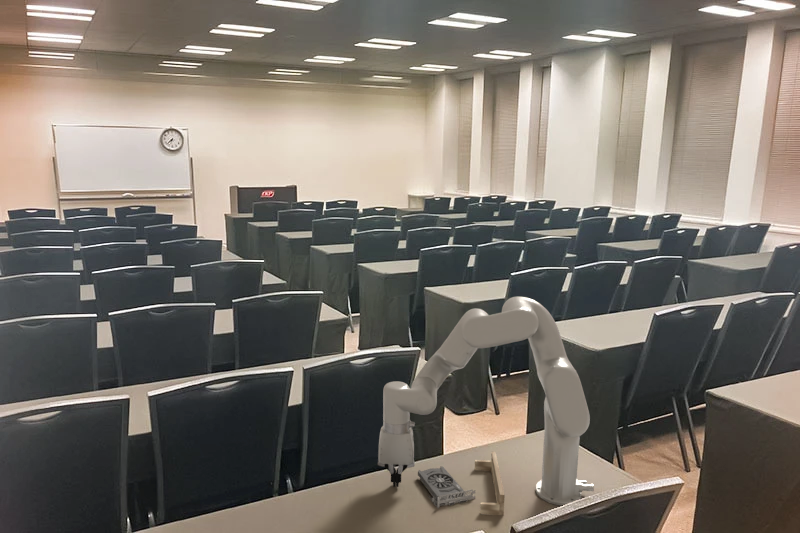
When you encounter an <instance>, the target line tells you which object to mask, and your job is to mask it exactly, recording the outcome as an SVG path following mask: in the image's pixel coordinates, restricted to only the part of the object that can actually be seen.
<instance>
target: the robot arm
mask: <svg viewBox="0 0 800 533" xmlns="http://www.w3.org/2000/svg"><path fill="white" fill-rule="evenodd" d="M555 321H556V320H555V318H553V316H552V314H551V313H550V312H549V310H548V309H547V308H546V307H544V305H542V304H541V303H540V302H538V301H536V300H535V299H532V298H529V297H527V296H512V297H509V298H508V299H507V300H506V301H505V302H504V303H503V306H502V307H501V312H496V313H493V314H489V313H487V312H486V311H485V310H483V309H482V308H471V309H469V310H467V311H466V312H465V313H464V314H463V315H462V316H461V318H460V319H459V320H458V322H457V324H456V325H455V326H454V328H453V329H452V330H451V332H450V333H449V335H448V336H447V338H446V339H445V340H444V341H443V343H442V344H441V345H440V347H439V348H438V349H437V350H436V351H435V352H434V354H433V355H432V356H431V357H429V359H428V360H427V361H426V362H425V364H424V365H423V367H421V369H420V371H419V372H418V374H417V375H416V376H415V378H414V380H413V382H412V383H411V387H410V386H409V385H408V384H407V383H405V382H403V381H396V380H395V381H390V382H387V383H386V384H385V385H384V387H383V392H382V393H383V394H382V398H383V399H382V403H383V405H382V406H383V408H382V410H383V411H382V412H383V414H382V417H383V418H382V419H383V420H382V422H383V424H382V426H381V428H380V432H379V437H378V438H379V439H378V452H377V453H378V454H377V457H378V459H377V466H379V467H383V468H385V469H387V471H388V472H389V475H390V483H392V487H393V488H394V487H397V488H399V485H400V483H402V473H403V472H404V471H405V470H406V469H408V468H409V469H410V468H414V467H415V460H414V458H415V443H414V440H415V439H414V431H413V428H414V427H415V424H416V423H415V421H411V419H410V417H411V416H410V415H411V414H410V413H413V414H417V415H421V416H422V415H424V416H426V415H429V414H432V413H433V412H434V411H435V410H436V407H437V403H438V398H437V397H438V395H437V394H438V390H439V388H440V387H441V386H442V384H443V383H444V382H445V380H446V379H447V378H448V376H449V375H450V374H451V373H453V372H454V371H457V370H461V369H464V368H465V367H466V365H467V364H468V363H469V361H470V360H471V359H472V357H473V355H475V353H476V352H477V351H478V349H487V348H492V347H493V348H494V347H498V346H503V345H507V344H511V343H516V342H520V341H524V340H527V339H528V342H529V345H530V349H531V351H532V355H533V360H534V362H535V367H536V373H537V378H538V379H539V381H540V384H541V386H542V389H543V390H544V393H545V397H544V401H543V404H544V405H543V410H544V411H543V414H544V416H543V417H544V433H543V434H544V436H543V451H542V452H543V453H542V467H541V469H542V471H541V479H540V480H538V481H537V483H536V484H535V493H536V494H537V496H538V497H539V498H541V499H542V500H543V501H545V502H547V503H549V504H552V505H556V506H562V505H564V504H567V503H569V502H573V501H575V500H578V499H580V500H581V499H582V492H584V491H585V492H594V489H595V487H594V484H593V483H588V482H587V480H586V479H578V464H579V449H580V437H581V436H582V435H583V434H585V432H586V431H587V430H588V429H589V426H590V421H591V420H590V419H591V416H590V411H589V407H588V404H587V399H586V396H585V393H584V388H583V386H582V382H581V379H580V376H579V374H578V372H577V370H576V369H575V367H574V366H573V365H572V362H571V361H570V360H569V358H568V356H567V352H566V349H565V345H564V342H563V340H562V337H561V334H560V330H559V328H558V325H557V323H556V322H555ZM395 465H398V467H397V468H396V467H395Z"/></svg>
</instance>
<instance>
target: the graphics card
mask: <svg viewBox="0 0 800 533" xmlns="http://www.w3.org/2000/svg"><path fill="white" fill-rule="evenodd" d="M417 476H418V477H419V480H420V481H421V483H422V485H423V486H424V487H425V489H427V490H428V492H429V493H430V495H431V496H432V497H431V496H430V495H428V494H426V495H427V497H428V498H429V500H430V501H431V503H432V504H433V505H434V507H436V508H437V509H438V510H439V509H440V507H442V506H448V505H449V506H454V505H455V504H457V503H459V504H464V503H467V502H468V501H471V500H475V499H476V496H475V494H476V490H473V489H467V490H464V488H462V487H461V485H459V483H458V482H457V481H456V480H455V479H454V478H453V476H452V475H451V474H450V473H449V472H448V471H447V469H446V468H445V467H444V466H440V467H438V468H437V467H435V468H434V467H433V468H427V469H424V470H421V469H418V471H417Z"/></svg>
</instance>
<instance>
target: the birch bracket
mask: <svg viewBox="0 0 800 533" xmlns="http://www.w3.org/2000/svg"><path fill="white" fill-rule="evenodd" d="M497 456H498V455H497V453H496V451H491V456H490V457H491V458H490V459H491V460H487V459H486V460H485V459H484V460H483V459H475V460H474V471H483V472H484V471H485V472H491V478H492V483H493V488H494V494H495V500H496V502H480V506H479V509H480V510H479V513H480V515H486V516H487V515H490V516H504V515H505V491H504V485H503V482H502V476H501V471H500V467H499V462H498V461H499V460H498V457H497Z"/></svg>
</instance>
